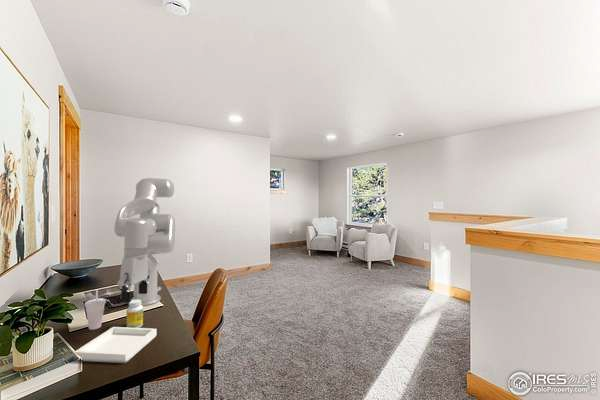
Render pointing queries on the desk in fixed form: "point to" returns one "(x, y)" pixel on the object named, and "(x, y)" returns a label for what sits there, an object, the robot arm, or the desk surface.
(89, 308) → the smoothie
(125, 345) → the tray
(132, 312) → the supplement bottle
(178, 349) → the desk surface
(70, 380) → the desk surface
